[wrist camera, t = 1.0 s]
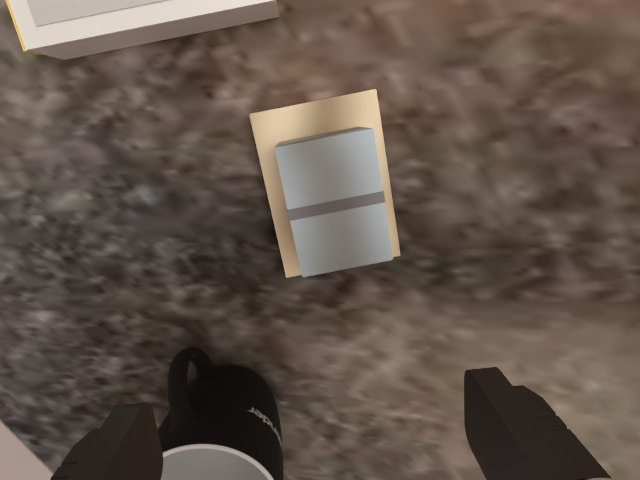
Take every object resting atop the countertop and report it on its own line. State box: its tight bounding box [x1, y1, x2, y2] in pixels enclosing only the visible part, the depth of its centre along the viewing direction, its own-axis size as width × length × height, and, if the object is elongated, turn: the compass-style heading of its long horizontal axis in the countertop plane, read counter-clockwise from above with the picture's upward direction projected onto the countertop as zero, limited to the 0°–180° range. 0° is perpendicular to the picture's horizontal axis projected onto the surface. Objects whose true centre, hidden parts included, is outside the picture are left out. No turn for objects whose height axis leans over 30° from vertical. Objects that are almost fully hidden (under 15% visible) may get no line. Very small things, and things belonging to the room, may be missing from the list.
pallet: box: [249, 89, 400, 278], centre depth 26 cm, size 8×11×8 cm
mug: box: [158, 347, 283, 480], centre depth 29 cm, size 12×9×10 cm
